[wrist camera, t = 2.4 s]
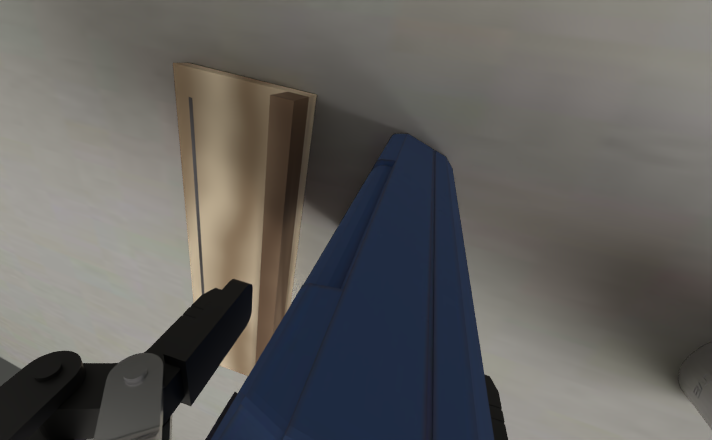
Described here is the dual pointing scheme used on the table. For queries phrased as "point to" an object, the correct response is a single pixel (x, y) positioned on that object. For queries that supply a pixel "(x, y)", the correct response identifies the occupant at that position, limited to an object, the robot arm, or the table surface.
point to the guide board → (243, 191)
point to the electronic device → (377, 324)
